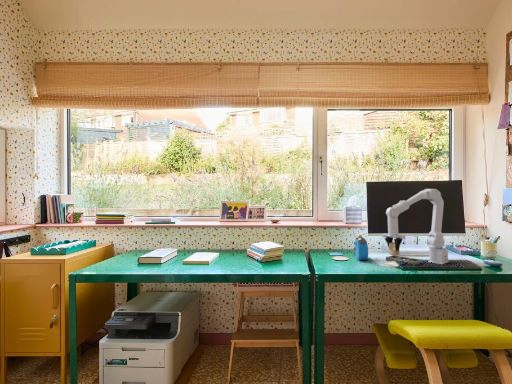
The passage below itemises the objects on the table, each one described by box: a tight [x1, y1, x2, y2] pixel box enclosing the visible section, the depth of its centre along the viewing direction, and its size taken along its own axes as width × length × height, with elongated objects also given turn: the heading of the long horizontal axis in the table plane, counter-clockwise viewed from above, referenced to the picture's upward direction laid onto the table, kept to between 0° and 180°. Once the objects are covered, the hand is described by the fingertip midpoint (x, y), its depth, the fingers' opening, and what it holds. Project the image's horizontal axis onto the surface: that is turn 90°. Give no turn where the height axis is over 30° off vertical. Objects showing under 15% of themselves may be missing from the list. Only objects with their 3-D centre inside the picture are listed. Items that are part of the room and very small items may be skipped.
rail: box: [385, 255, 424, 265], centre depth 217 cm, size 20×8×2 cm, turn 33°
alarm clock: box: [354, 235, 369, 261], centre depth 229 cm, size 13×6×15 cm, turn 176°
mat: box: [383, 261, 400, 268], centre depth 212 cm, size 9×9×1 cm
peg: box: [388, 241, 401, 256], centre depth 212 cm, size 4×4×7 cm
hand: (394, 249), depth 212 cm, fingers closed on peg, 4 cm apart
